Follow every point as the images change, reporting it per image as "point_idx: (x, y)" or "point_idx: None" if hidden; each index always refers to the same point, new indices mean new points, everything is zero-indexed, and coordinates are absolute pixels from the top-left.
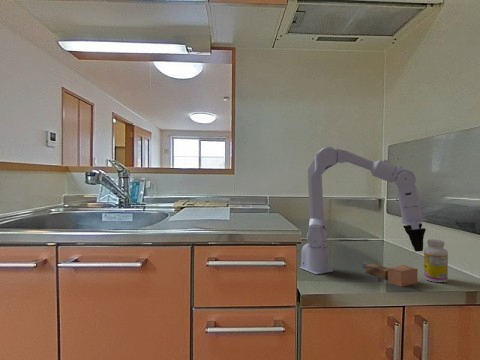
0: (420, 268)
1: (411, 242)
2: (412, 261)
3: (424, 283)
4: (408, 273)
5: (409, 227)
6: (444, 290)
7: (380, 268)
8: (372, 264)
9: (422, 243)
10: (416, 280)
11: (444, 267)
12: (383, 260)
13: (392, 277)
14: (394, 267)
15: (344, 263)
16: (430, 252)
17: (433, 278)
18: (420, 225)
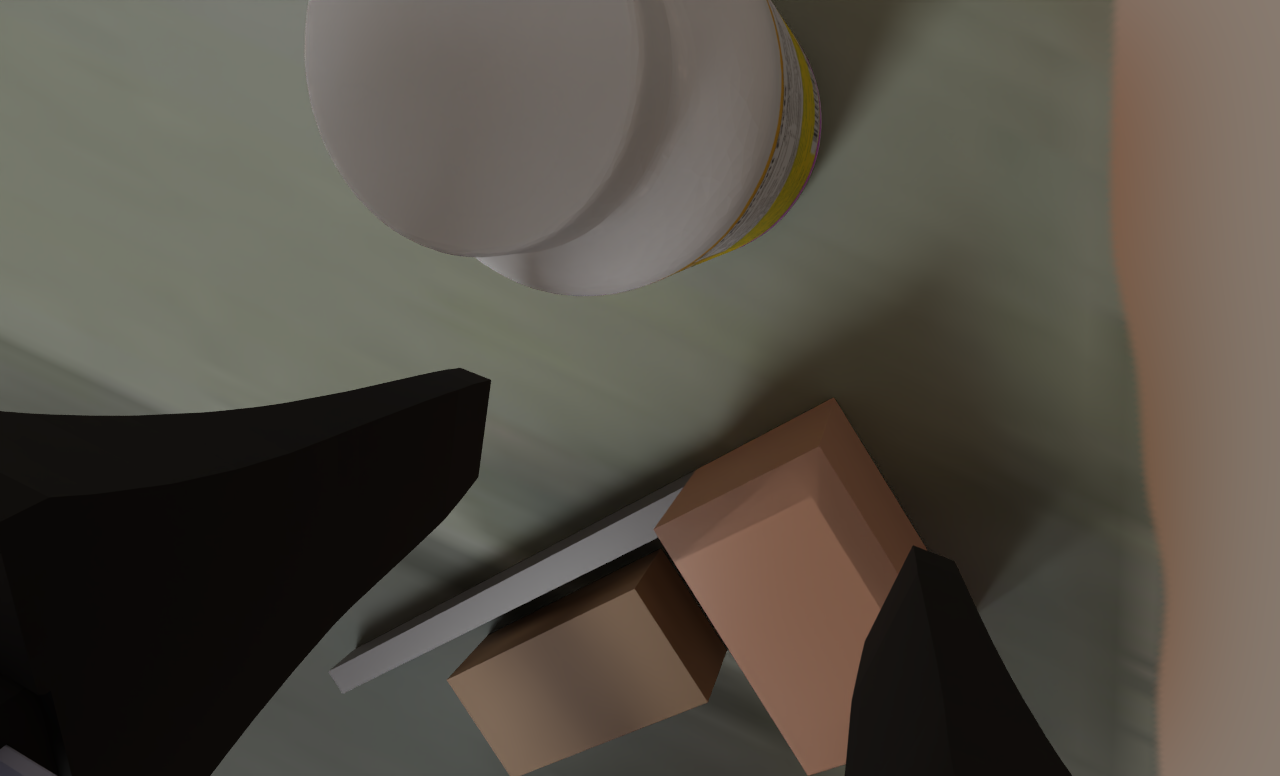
0: (295, 117)
1: (426, 530)
2: (67, 94)
3: (837, 322)
4: None
5: (140, 765)
6: (1101, 211)
7: (607, 698)
8: (469, 701)
9: (1004, 680)
10: (841, 420)
11: (796, 50)
12: (112, 381)
13: None
14: (767, 687)
15: (289, 759)
16: (689, 255)
17: (791, 205)
18: (66, 547)
